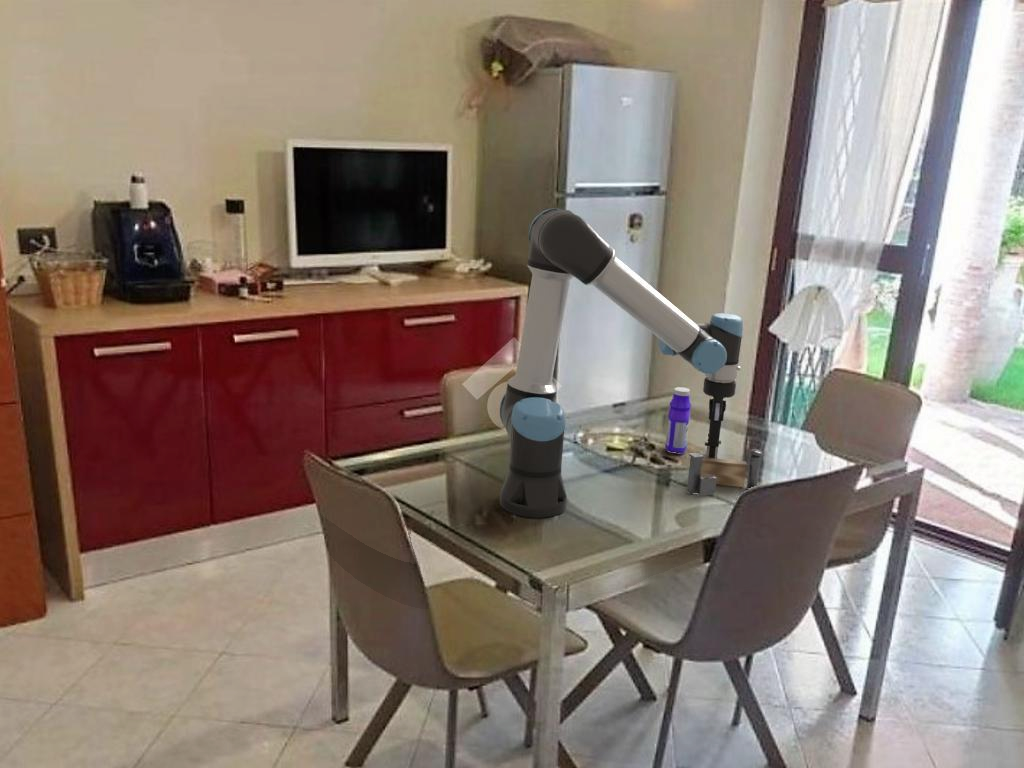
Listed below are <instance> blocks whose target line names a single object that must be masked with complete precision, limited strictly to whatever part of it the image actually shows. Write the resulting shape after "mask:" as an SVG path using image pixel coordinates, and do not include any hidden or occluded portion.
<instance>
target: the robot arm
mask: <svg viewBox="0 0 1024 768" xmlns="http://www.w3.org/2000/svg"><path fill="white" fill-rule="evenodd" d="M528 241H529V245H530V246H529V252H528V258H527V267H528V269H529V271H530V272H531V275H532V277H531V282H530V288H529V293H528V299H527V306H526V311H525V318H524V323H523V330H522V335H521V341H520V345H519V352H518V358H517V364H516V369H515V375H513V376H512V377H510V378H509V379H508V380H507V382H506V383H507V384H506V390H505V393H504V394H503V396H502V398H501V400H500V405H499V418H500V421H501V422H502V423H501V424H502V425H503V427H504V428H505V431H506V434H507V435H508V437H509V440H510V441H509V442H510V445H509V446H510V447H509V448H510V450H509V464H508V465H509V466H508V467H509V468H508V472H507V475H506V477H505V480H504V482H503V485H502V487H501V489H500V492H499V505H500V507H501V508H502V509H503V510H504V511H506V512H507V513H510V514H512V515H516V516H519V517H525V518H534V519H538V518H539V519H541V518H551V517H555V516H558V515H560V514H562V513H563V512H564V511H566V509H567V501H568V497H567V491H566V488H565V484H564V481H563V477H562V463H563V452H564V440H565V438H564V437H565V428H566V415H565V411H564V408H563V407H562V406H561V405H560V404H559V402H558V403H557V402H556V397H557V396H556V395H557V390H558V388H557V387H556V385H555V384H554V382H553V377H554V370H555V366H556V365H555V364H556V359H557V355H558V354H557V353H558V348H559V344H560V338H561V337H560V336H561V332H562V326H563V320H564V316H565V315H564V314H565V310H566V305H567V300H568V299H567V298H568V295H569V293H568V292H569V287H570V282H571V280H572V279H574V278H575V279H577V280H578V281H580V282H581V283H582V284H583V285H585V286H589V285H591V286H593V287H595V288H596V289H597V290H598V291H600V292H601V294H603V295H605V296H606V297H607V298H608V299H609V300H611V301H612V302H613V303H615V304H616V305H617V306H618V307H619V308H621V309H622V310H623V311H625V312H626V313H627V314H628V315H630V316H631V317H632V318H633V319H634V320H636V322H638V323H640V324H641V325H642V326H643V327H644V328H646V330H648V331H649V332H650V333H652V334H653V335H655V337H657V339H658V341H657V342H658V347H659V351H660V352H661V354H663V355H664V356H672V357H673V356H679V357H681V359H683V360H685V361H686V362H687V363H688V364H690V365H692V367H693V368H694V369H696V370H697V371H698V372H701V373H703V374H704V376H705V378H704V379H703V389H702V392H703V393H704V394H705V395H706V396H709V397H712V398H709V401H708V410H709V411H708V420H709V429H708V434H707V440H706V441H707V442H706V441H705V442H704V446H706V451H705V457H709V458H718V452H719V446H720V445H722V440H720V435H721V429H722V427H721V426H722V422H723V421H724V418H725V417H724V416H725V411H726V408H727V400H725V399H726V398H727V399H729V398H733V397H734V396H735V394H736V389H737V388H736V387H737V381H736V379H737V377H738V371H741V366H739V361H740V353H741V347H742V339H743V330H744V328H743V327H744V326H743V325H744V323H743V318H742V317H740V316H739V315H736V314H733V313H732V314H731V313H725V312H723V313H721V312H719V313H714V314H713V315H711V317H710V320H709V322H705V323H703V322H702V323H699V322H698V323H697V322H694V321H693V320H692V319H691V318H690V317H689V316H687V315H686V314H685V313H683V311H682V310H680V308H678V307H677V306H675V305H674V304H673V303H671V301H669V300H668V299H667V298H666V297H664V296H663V295H662V294H661V293H660V292H659V291H657V290H656V289H655V288H653V286H651V285H650V284H649V283H648V282H647V281H645V280H644V279H643V278H642V277H641V276H639V275H638V274H637V273H636V272H634V271H633V270H632V269H631V268H629V267H628V266H627V265H626V264H625V263H624V262H623V261H621V260H620V259H619V258H617V256H616V251H615V249H614V248H613V247H612V246H611V245H609V244H608V242H606V241H605V240H604V239H603V238H602V237H601V236H600V235H599V234H598V233H597V232H596V231H595V229H594V228H593V227H592V226H591V225H590V224H589V223H588V222H587V221H586V220H585V219H584V218H583V217H581V216H580V215H577V214H575V212H574V213H573V212H572V211H570V210H568V209H566V208H565V209H564V208H558V207H555V208H554V207H553V208H549V209H545V210H543V211H541V212H540V213H538V215H537V214H536V216H535V217H534V219H533V220H532V222H531V223H530V226H529V230H528Z"/></svg>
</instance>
